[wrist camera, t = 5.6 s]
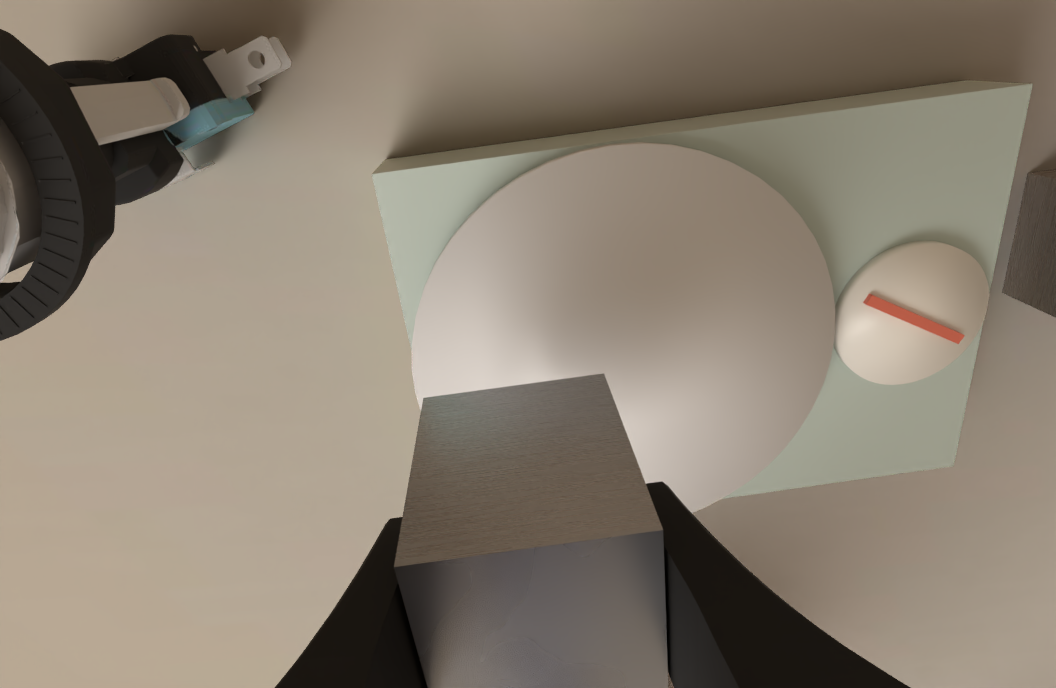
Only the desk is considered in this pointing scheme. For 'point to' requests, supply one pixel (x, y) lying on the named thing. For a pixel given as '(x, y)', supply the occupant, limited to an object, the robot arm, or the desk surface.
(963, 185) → the scale
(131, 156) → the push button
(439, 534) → the block
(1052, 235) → the block
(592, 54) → the desk surface
